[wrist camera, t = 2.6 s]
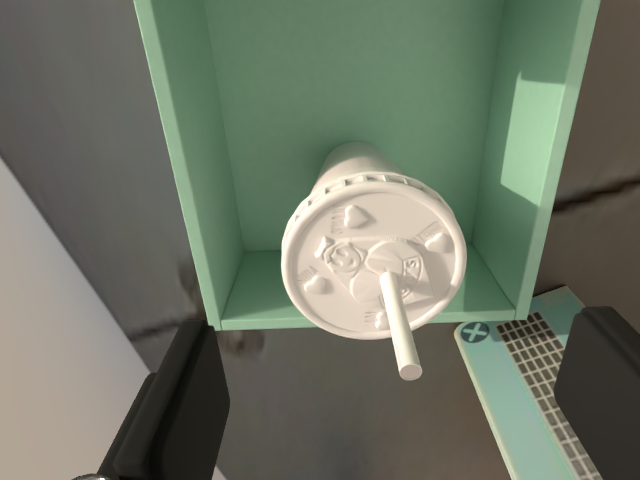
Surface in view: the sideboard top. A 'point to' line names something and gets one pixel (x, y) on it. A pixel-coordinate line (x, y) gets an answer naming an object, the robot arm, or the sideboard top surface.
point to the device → (527, 388)
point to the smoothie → (372, 252)
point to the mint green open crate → (365, 128)
